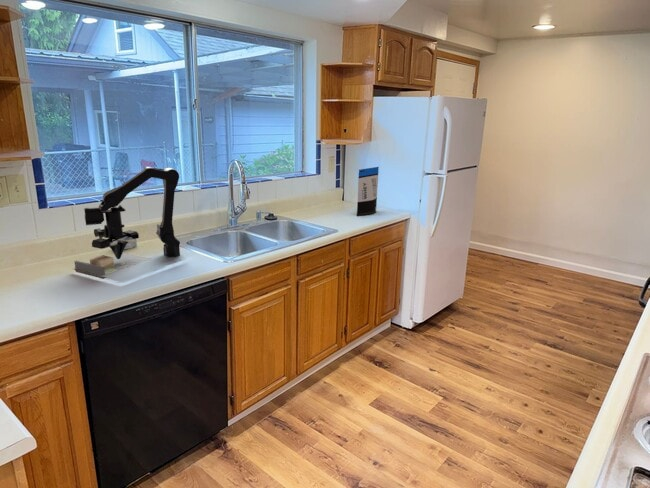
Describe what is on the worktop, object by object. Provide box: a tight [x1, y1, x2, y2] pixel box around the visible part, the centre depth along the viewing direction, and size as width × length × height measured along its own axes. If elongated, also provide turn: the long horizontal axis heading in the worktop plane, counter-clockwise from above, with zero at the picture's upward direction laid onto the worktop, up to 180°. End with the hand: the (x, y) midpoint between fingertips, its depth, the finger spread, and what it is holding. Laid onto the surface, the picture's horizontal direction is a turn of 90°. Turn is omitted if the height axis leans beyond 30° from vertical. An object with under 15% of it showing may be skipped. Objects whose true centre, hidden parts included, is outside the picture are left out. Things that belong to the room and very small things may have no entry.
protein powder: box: [356, 166, 380, 217], centre depth 292 cm, size 10×24×30 cm, turn 143°
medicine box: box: [123, 237, 138, 251], centre depth 205 cm, size 8×4×9 cm, turn 148°
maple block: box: [89, 255, 115, 270], centre depth 178 cm, size 6×6×4 cm
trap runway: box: [73, 252, 152, 280], centre depth 184 cm, size 16×24×4 cm, turn 154°
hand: (118, 258), depth 185 cm, fingers closed
